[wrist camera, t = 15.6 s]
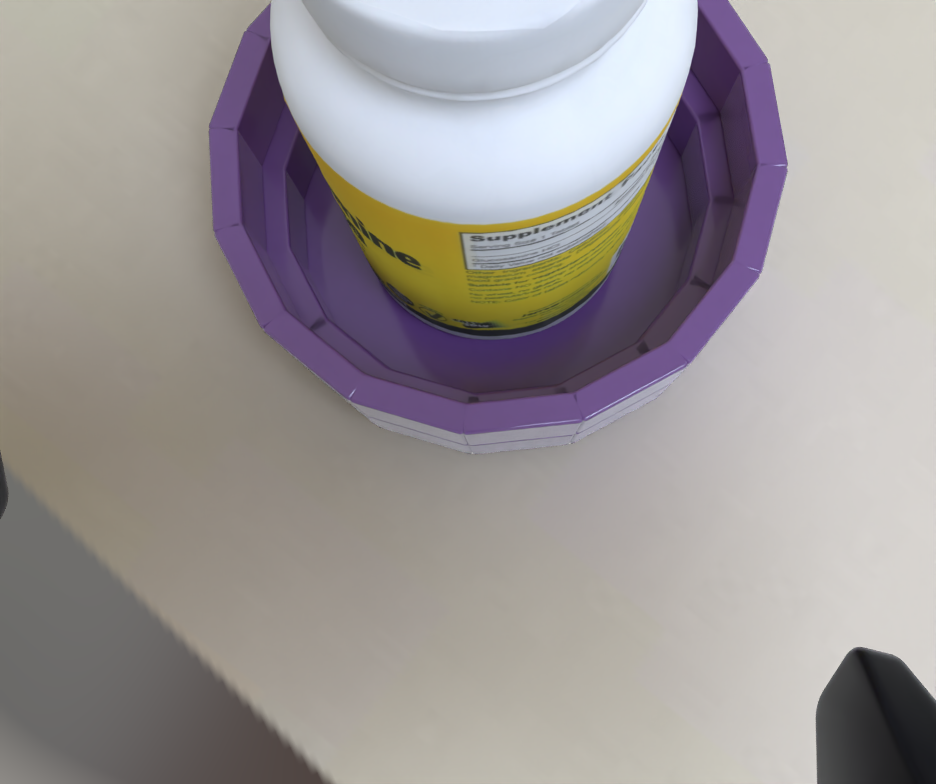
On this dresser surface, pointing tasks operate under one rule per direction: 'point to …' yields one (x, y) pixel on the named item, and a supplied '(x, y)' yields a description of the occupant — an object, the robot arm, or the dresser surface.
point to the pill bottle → (486, 141)
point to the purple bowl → (527, 357)
